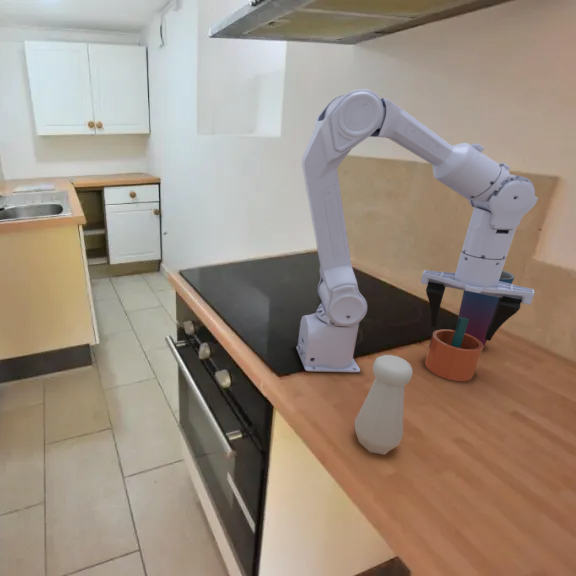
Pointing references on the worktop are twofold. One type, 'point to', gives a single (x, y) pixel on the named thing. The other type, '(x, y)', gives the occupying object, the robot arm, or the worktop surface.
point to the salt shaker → (384, 406)
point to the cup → (480, 309)
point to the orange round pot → (453, 356)
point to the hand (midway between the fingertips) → (459, 331)
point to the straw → (459, 332)
